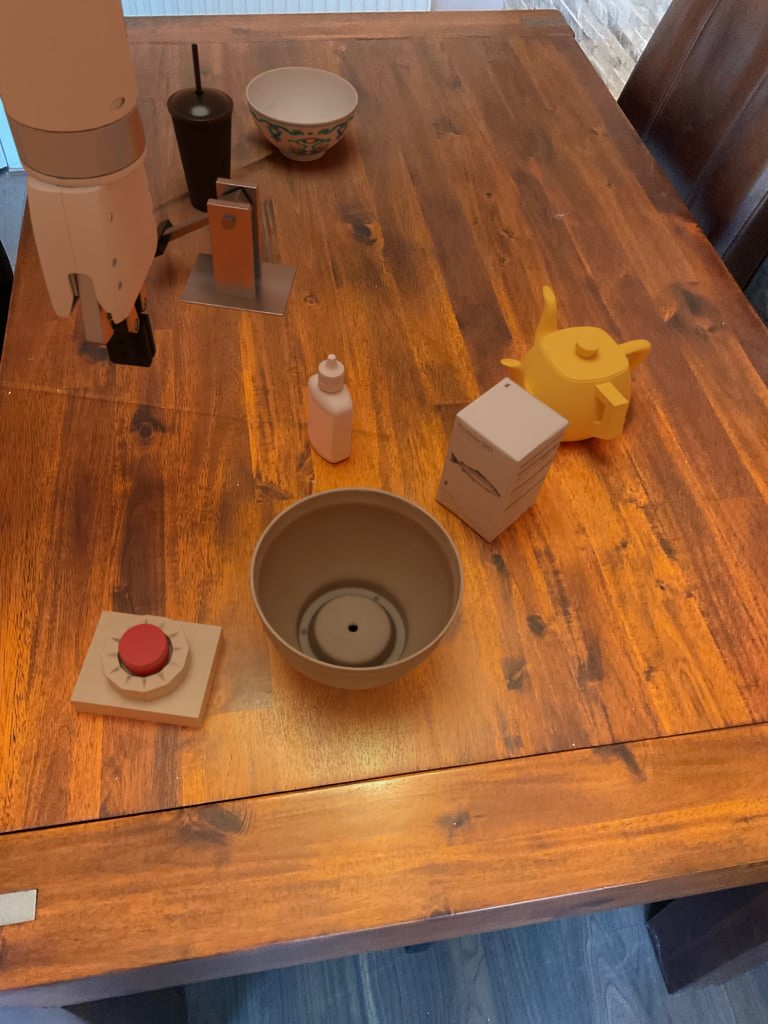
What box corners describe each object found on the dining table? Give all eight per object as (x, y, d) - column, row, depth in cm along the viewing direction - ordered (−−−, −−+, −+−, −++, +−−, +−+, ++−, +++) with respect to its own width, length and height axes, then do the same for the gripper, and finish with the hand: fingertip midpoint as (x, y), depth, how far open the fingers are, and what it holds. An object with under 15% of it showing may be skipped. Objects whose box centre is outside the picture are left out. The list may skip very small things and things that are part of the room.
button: (116, 672, 62) (111, 662, 60) (130, 630, 64) (126, 620, 62) (162, 678, 62) (159, 668, 60) (174, 636, 64) (171, 626, 62)
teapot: (524, 350, 93) (545, 280, 85) (635, 392, 90) (668, 323, 82) (481, 428, 85) (500, 358, 77) (602, 475, 82) (634, 409, 74)
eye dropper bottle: (306, 464, 80) (307, 378, 70) (307, 422, 83) (307, 334, 74) (350, 465, 80) (356, 379, 71) (349, 423, 84) (355, 336, 74)
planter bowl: (258, 559, 73) (252, 486, 64) (432, 557, 75) (450, 486, 66) (253, 730, 64) (246, 672, 55) (453, 723, 65) (477, 665, 57)
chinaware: (344, 186, 109) (346, 131, 103) (236, 168, 110) (232, 112, 103) (363, 130, 118) (366, 76, 112) (263, 113, 118) (261, 59, 112)
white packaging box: (432, 500, 79) (452, 411, 68) (482, 462, 82) (507, 372, 72) (488, 547, 76) (518, 462, 66) (537, 505, 79) (572, 419, 69)
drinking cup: (171, 218, 102) (147, 53, 86) (194, 186, 106) (174, 24, 90) (228, 231, 101) (215, 67, 85) (249, 198, 106) (239, 37, 90)
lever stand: (180, 308, 92) (164, 209, 82) (199, 260, 97) (187, 162, 87) (283, 323, 92) (281, 225, 82) (297, 274, 97) (296, 177, 87)
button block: (76, 711, 63) (64, 690, 60) (107, 622, 68) (98, 599, 65) (201, 728, 63) (195, 709, 60) (224, 638, 68) (220, 616, 65)
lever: (157, 262, 89) (143, 244, 88) (169, 235, 92) (156, 218, 91) (246, 226, 85) (233, 207, 83) (255, 200, 87) (243, 181, 86)
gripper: (57, 65, 52) (113, 292, 67) (-34, 193, 43) (54, 423, 58) (171, 78, 52) (202, 303, 67) (104, 208, 44) (157, 434, 58)
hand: (133, 358), depth 63 cm, fingers closed
